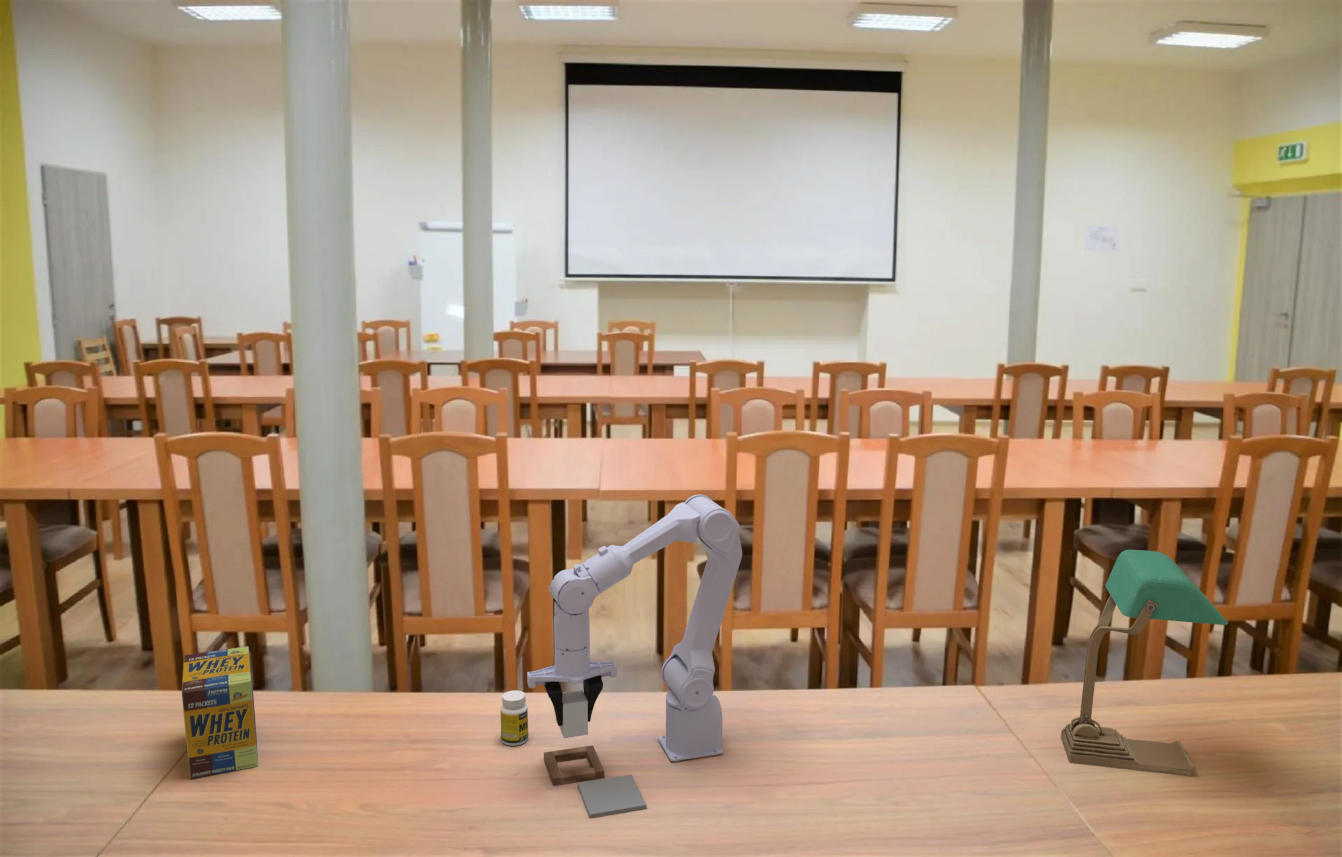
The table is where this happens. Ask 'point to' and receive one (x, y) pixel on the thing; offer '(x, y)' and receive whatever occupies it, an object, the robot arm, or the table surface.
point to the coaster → (611, 796)
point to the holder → (577, 775)
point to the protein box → (219, 712)
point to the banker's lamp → (1142, 593)
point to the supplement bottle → (514, 718)
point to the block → (574, 714)
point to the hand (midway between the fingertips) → (573, 721)
